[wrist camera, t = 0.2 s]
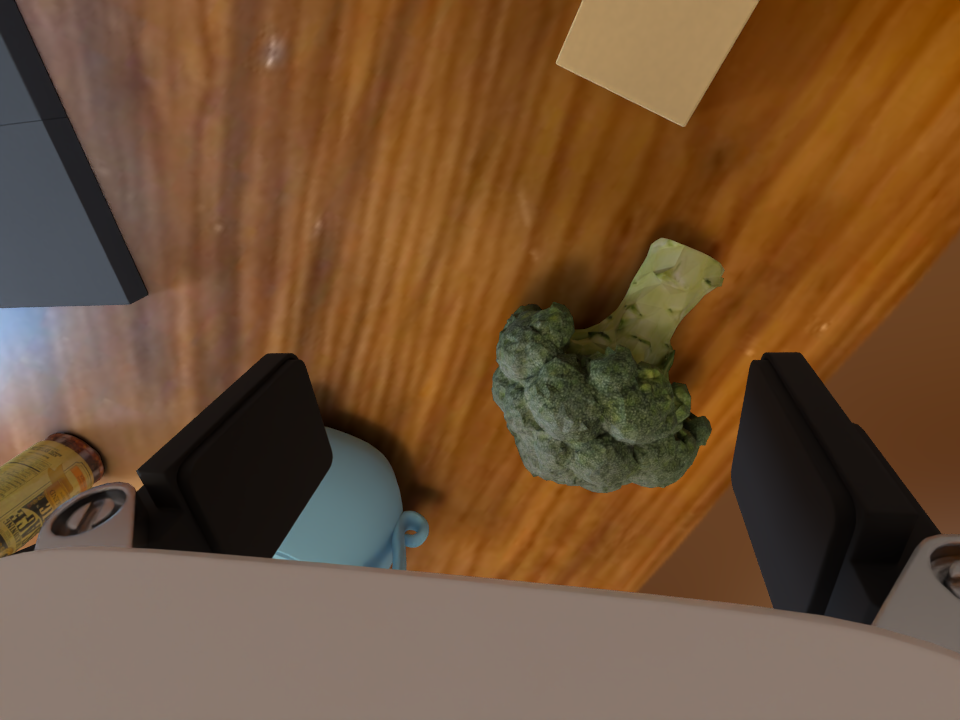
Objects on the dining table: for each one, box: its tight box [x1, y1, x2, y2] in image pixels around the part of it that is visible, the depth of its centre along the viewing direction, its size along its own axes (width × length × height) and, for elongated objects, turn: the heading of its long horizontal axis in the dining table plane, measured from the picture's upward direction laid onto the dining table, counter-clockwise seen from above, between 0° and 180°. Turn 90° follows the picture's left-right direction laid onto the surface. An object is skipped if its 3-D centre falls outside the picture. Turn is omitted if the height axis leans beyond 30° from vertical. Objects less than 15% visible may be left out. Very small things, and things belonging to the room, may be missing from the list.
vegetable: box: [492, 238, 725, 493], centre depth 28 cm, size 12×13×15 cm
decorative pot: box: [273, 426, 429, 570], centre depth 38 cm, size 16×16×14 cm
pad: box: [556, 0, 759, 127], centre depth 23 cm, size 7×7×3 cm
